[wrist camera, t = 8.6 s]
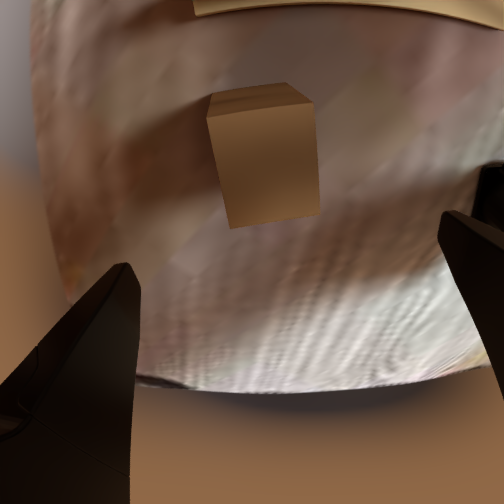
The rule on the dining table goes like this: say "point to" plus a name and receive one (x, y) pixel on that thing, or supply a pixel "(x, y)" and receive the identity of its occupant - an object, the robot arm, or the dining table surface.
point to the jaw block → (265, 153)
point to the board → (442, 3)
